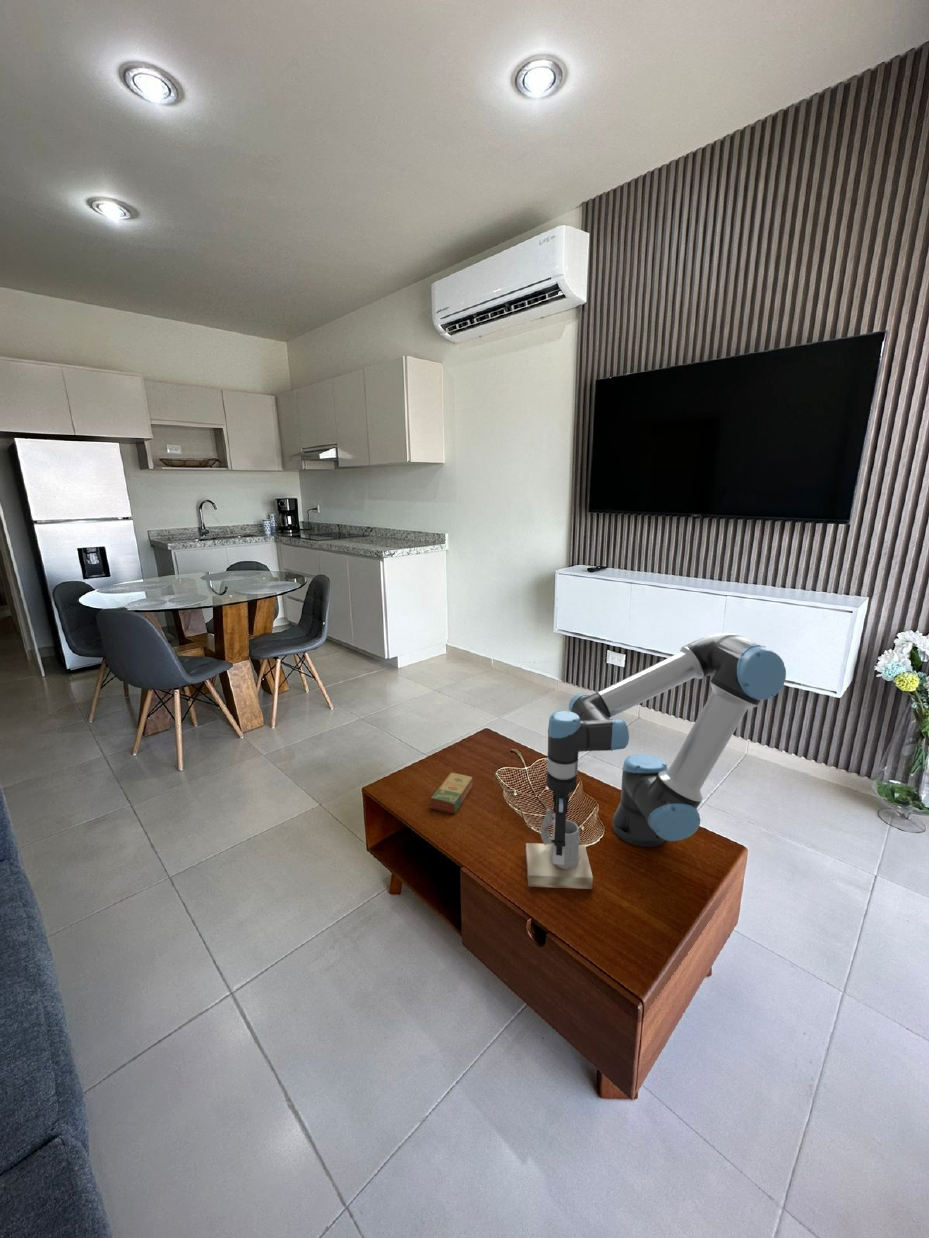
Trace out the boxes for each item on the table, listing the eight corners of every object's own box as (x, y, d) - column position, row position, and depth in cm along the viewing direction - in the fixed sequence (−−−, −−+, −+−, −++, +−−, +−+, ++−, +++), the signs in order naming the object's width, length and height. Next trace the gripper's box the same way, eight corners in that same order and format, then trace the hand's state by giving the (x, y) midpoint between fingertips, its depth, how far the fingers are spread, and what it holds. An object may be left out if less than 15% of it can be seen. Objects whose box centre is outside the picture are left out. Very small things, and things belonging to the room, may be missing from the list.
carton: (472, 787, 172) (473, 776, 171) (454, 815, 158) (454, 803, 157) (450, 782, 175) (450, 771, 174) (430, 809, 161) (430, 797, 160)
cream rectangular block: (584, 857, 140) (584, 844, 139) (592, 890, 128) (592, 877, 127) (525, 855, 141) (525, 842, 140) (528, 888, 129) (528, 875, 128)
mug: (568, 874, 128) (570, 833, 125) (531, 851, 136) (533, 812, 134) (585, 860, 133) (588, 820, 130) (549, 838, 141) (551, 800, 139)
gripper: (547, 746, 140) (545, 813, 145) (545, 799, 116) (542, 877, 121) (575, 748, 138) (572, 816, 144) (578, 803, 115) (574, 882, 120)
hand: (558, 844), depth 132 cm, fingers open, 13 cm apart
